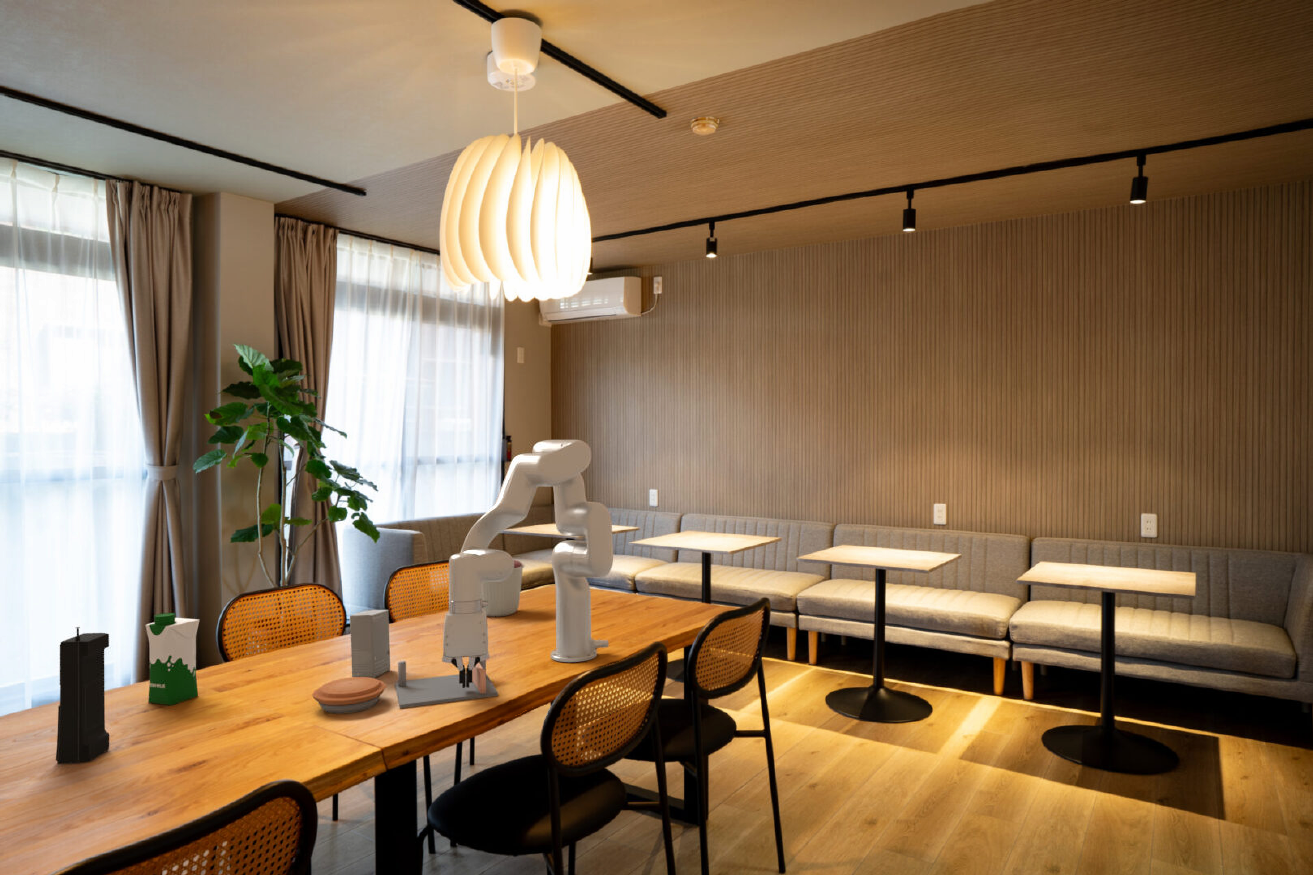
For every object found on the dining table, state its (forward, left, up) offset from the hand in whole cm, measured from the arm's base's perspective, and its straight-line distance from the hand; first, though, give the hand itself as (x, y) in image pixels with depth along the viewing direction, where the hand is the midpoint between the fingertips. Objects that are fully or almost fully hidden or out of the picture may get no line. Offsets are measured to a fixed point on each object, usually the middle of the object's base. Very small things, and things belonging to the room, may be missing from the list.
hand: (465, 685), depth 181 cm
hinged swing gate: (+4, -6, -2) cm, 7 cm away
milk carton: (+63, -25, -2) cm, 68 cm away
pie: (+25, -4, -3) cm, 25 cm away
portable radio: (+72, +7, -2) cm, 72 cm away
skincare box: (+20, -28, -2) cm, 34 cm away
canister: (-23, -86, -2) cm, 89 cm away
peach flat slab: (-3, -4, -1) cm, 5 cm away
